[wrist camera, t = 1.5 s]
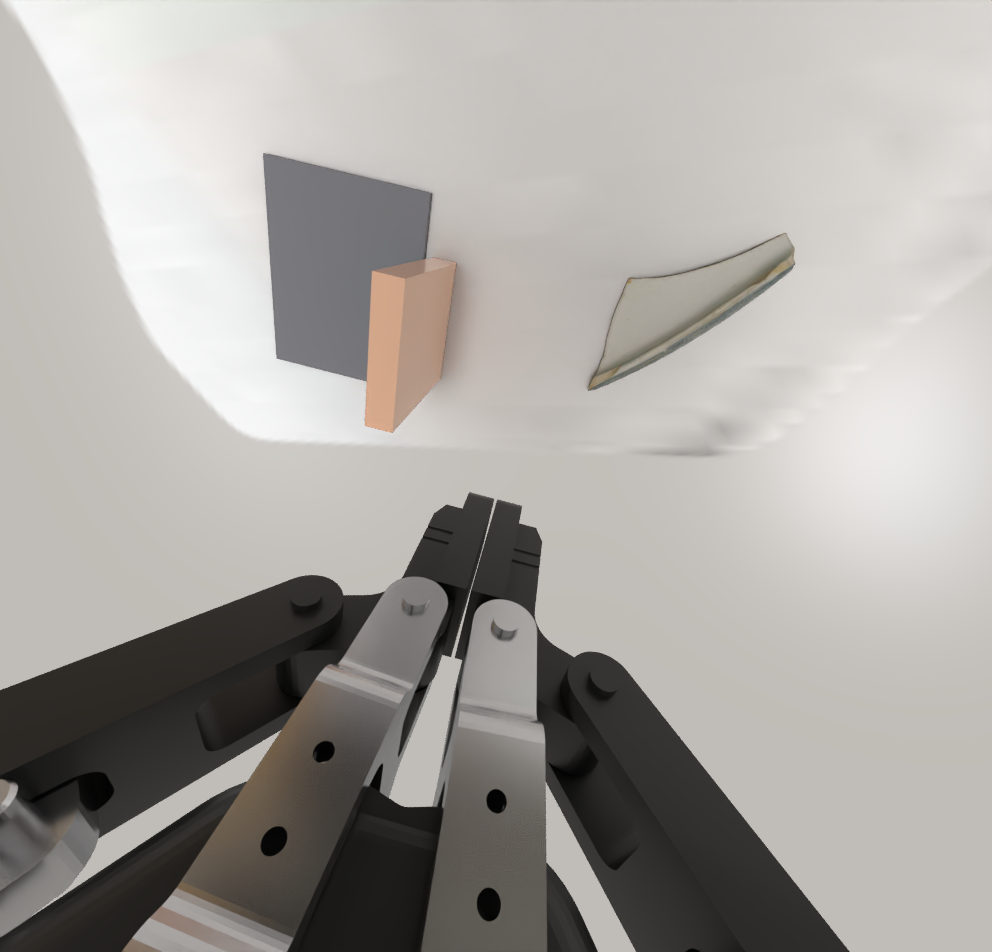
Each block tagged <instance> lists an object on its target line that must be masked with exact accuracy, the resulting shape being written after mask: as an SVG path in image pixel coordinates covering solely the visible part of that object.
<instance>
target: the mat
mask: <svg viewBox="0 0 992 952" xmlns="http://www.w3.org/2000/svg"><path fill="white" fill-rule="evenodd" d="M263 159H264V174H265V190H266V205H267V220H268V235H269V250H270V265H271V280H272V295H273V310H274V325H275V340H276V355H277V359H281V360H285V361H289V362H293V363H297V364H301V365H305V366H309V367H312V368H316V369H320V370H324V371H328V372H332V373H336V374H340V375H344V376H348V377H352V378H356V379H360V380H363V381H367V367H368V345H369V324H370V302H371V280H372V271H373V270H377V269H382V268H386V267H391V266H396V265H400V264H405V263H409V262H414V261H419V260H423V259H425V257H426V247H427V237H428V228H429V218H430V209H431V199H432V193H429V192H425V191H420V190H416V189H412V188H408V187H404V186H399V185H395V184H391V183H387V182H383V181H378V180H374V179H370V178H366V177H362V176H357V175H353V174H349V173H345V172H341V171H336V170H332V169H328V168H324V167H320V166H315V165H311V164H307V163H303V162H299V161H294V160H290V159H286V158H282V157H278V156H274V155H269V154H265V153H263Z"/></svg>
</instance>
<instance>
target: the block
mask: <svg viewBox="0 0 992 952" xmlns="http://www.w3.org/2000/svg"><path fill="white" fill-rule="evenodd" d="M456 264H457V263H454V262H450V261H446V260H442V259H438V258H434V257H432V258H428V259H423V260H419V261H414V262H409V263H405V264H400V265H396V266H391V267H386V268H382V269H377V270H373V271H372V280H371V302H370V324H369V345H368V367H367V389H366V410H365V426H368V427H372V428H375V429H379V430H383V431H387V432H391V433H393V432H394V430H395V429H396V428H397V427H398V426H399V425H400V424H401V423H402V421H403V420H404V419H405V418H406V417H407V416H408V415H409V414H410V412H411V411H412V410H413V409H414V408H415V407H416V406H417V405H418V403H419V402H420V401H421V400H422V399H423V398H424V397H425V396H426V394H427V393H428V392H429V391H430V390H431V389H432V388H433V387H434V385H435V384H436V383H437V382H438V381H439V380H440V379H441V372H442V364H443V357H444V350H445V343H446V336H447V328H448V321H449V314H450V307H451V300H452V292H453V285H454V278H455V271H456Z"/></svg>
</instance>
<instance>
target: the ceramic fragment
mask: <svg viewBox="0 0 992 952" xmlns="http://www.w3.org/2000/svg"><path fill="white" fill-rule="evenodd" d="M793 256H794V246H793V245H792V243H791V242H790V240H789V238H788V236H787V233H784V234H782V235H779V236H777V237H775V238H773V239H771V240H769V241H767V242H765V243H763V244H761V245H759V246H757V247H755V248H753V249H751V250H749V251H747V252H745V253H743V254H740V255H738V256H735V257H733V258H730V259H727V260H725V261H722V262H719V263H716V264H712V265H709V266H705V267H702V268H699V269H695V270H691V271H688V272H685V273H681V274H676V275H670V276H664V277H656V278H640V279H635V278H629V279H628V281H627V284H626V286H625V288H624V291H623V294H622V296H621V299H620V301H619V303H618V306H617V308H616V311H615V313H614V316H613V319H612V323H611V325H610V329H609V334H608V337H607V341H606V348H605V352H604V356H603V358H602V360H601V363H600V366H599V369H598V372H597V373H596V375H595V376H594V377H593V379H592V381H591V383H590V386H589V388H588V391H589V390H596V389H598V388H600V387H603V386H605V385H608V384H610V383H612V382H614V381H616V380H619V379H621V378H623V377H625V376H627V375H629V374H631V373H633V372H636V371H638V370H640V369H642V368H644V367H646V366H648V365H650V364H652V363H654V362H656V361H657V360H659V359H661V358H663V357H665V356H667V355H668V354H670V353H672V352H674V351H675V350H677V349H679V348H681V347H682V346H684V345H686V344H687V343H689V342H691V341H692V340H694V339H695V338H697V337H699V336H700V335H702V334H704V333H705V332H707V331H708V330H710V329H711V328H713V327H715V326H716V325H718V324H719V323H721V322H722V321H724V320H725V319H727V318H728V317H730V316H731V315H732V314H734V313H735V312H737V311H738V310H740V309H741V308H742V307H744V306H745V305H747V304H748V303H749V302H751V301H752V300H754V299H755V298H756V297H758V296H759V295H760V294H762V293H763V292H764V291H766V290H767V289H768V288H770V287H771V286H772V285H773V284H775V283H776V282H777V281H779V280H780V279H781V278H782V277H784V276H785V275H786V274H787V273H789V272H790V271H791V270H792V269H793V266H794V265H795V262H794V258H793Z"/></svg>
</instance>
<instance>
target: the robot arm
mask: <svg viewBox="0 0 992 952" xmlns="http://www.w3.org/2000/svg"><path fill="white" fill-rule="evenodd" d="M493 502H494V499H493V498H489V497H485V496H481V495H477V494H474V493H469V494H468V497H467V499H466V502H465V504H464V507H463V509H461V508H457V507H453V506H449V505H445V506H444V507H443V508H441V509H440V510H438V511H437V512H436V513H434V515H433V517H432V519H431V521H430V523H429V525H428V528H427V529H426V531H425V533H424V535H423V538H422V539H421V541H420V543H419V545H418V547H417V549H416V551H415V553H414V555H413V557H412V560H411V561H410V563H409V565H408V567H407V570H406V572H405V574H404V576H403V577H402V579H400V580H397V581H395V582H394V583H392V584H391V585H390V586H389V587H388V588H387V589H386V591H385V592H382V593H379V594H374V595H348V596H347V595H346V596H344V595H343V593H342V590H341V588H340V587H339V586H338V584H337V583H335V582H334V581H333V580H331V579H329V578H326V577H323V576H316V575H309V576H301V577H297V578H294V579H291V580H288V581H286V582H283V583H281V584H278V585H275V586H273V587H270V588H268V589H265V590H262V591H260V592H257V593H255V594H252V595H249V596H247V597H244V598H241V599H239V600H236V601H233V602H231V603H228V604H226V605H223V606H220V607H218V608H215V609H212V610H210V611H207V612H205V613H202V614H199V615H197V616H194V617H191V618H189V619H186V620H184V621H181V622H178V623H176V624H173V625H171V626H168V627H165V628H163V629H160V630H157V631H155V632H152V633H149V634H147V635H144V636H142V637H139V638H136V639H134V640H131V641H128V642H126V643H123V644H121V645H118V646H116V647H113V648H110V649H107V650H105V651H102V652H100V653H97V654H94V655H92V656H89V657H86V658H84V659H81V660H79V661H76V662H73V663H71V664H68V665H65V666H63V667H60V668H58V669H55V670H52V671H50V672H47V673H45V674H42V675H39V676H37V677H34V678H32V679H29V680H26V681H23V682H21V683H19V684H16V685H13V686H10V687H8V688H5V689H2V690H0V952H598V951H597V949H596V947H595V944H594V942H593V940H592V938H591V936H590V933H589V931H588V929H587V927H586V925H585V922H584V920H583V918H582V916H581V914H580V912H579V910H578V908H577V906H576V904H575V902H574V901H573V899H572V897H571V895H570V893H569V892H568V890H567V888H566V887H565V885H564V884H563V882H562V881H561V880H560V878H559V877H558V876H557V874H556V873H555V872H554V870H553V869H552V868H551V867H550V866H549V865H548V864H547V863H546V783H547V785H548V786H549V788H550V790H551V792H552V794H553V796H554V798H555V800H556V801H557V803H558V805H559V807H560V809H561V811H562V813H563V814H564V816H565V818H566V820H567V822H568V824H569V826H570V828H571V830H572V831H573V833H574V835H575V837H576V839H577V841H578V843H579V845H580V847H581V848H582V850H583V852H584V854H585V856H586V858H587V860H588V862H589V864H590V865H591V867H592V869H593V871H594V873H595V875H596V877H597V879H598V881H599V882H600V884H601V886H602V888H603V890H604V892H605V894H606V895H607V898H608V899H609V901H610V903H611V905H612V907H613V909H614V911H615V913H616V915H617V916H618V918H619V920H620V922H621V924H622V926H623V928H624V929H625V931H626V933H627V935H628V937H629V939H630V941H631V943H632V944H633V947H634V948H635V950H636V952H849V950H848V949H847V948H846V947H845V946H844V944H843V943H842V942H841V940H840V939H839V938H838V937H837V935H836V934H835V933H834V932H833V930H832V929H831V928H830V926H829V925H828V924H827V923H826V922H825V920H824V919H823V918H822V916H821V915H820V914H819V913H818V911H817V910H816V909H815V908H814V906H813V905H812V904H811V903H810V901H809V900H808V899H807V897H806V896H805V895H804V894H803V892H802V891H801V890H800V889H799V887H798V886H797V885H796V884H795V882H794V881H793V880H792V879H791V877H790V876H789V875H788V874H787V872H786V871H785V870H784V868H783V867H782V866H781V865H780V863H779V862H778V861H777V860H776V858H775V857H774V856H773V855H772V853H771V852H770V851H769V850H768V848H767V847H766V846H765V844H764V843H763V842H762V841H761V839H760V838H759V837H758V836H757V834H756V833H755V832H754V831H753V829H752V828H751V827H750V826H749V824H748V823H747V822H746V821H745V819H744V818H743V817H742V816H741V814H740V813H739V812H738V810H737V809H736V808H735V807H734V806H733V804H732V803H731V802H730V800H729V799H728V798H727V797H726V795H725V794H724V793H723V792H722V790H721V789H720V788H719V787H718V785H717V784H716V783H715V782H714V780H713V779H712V778H711V776H710V775H709V774H708V773H707V771H706V770H705V769H704V768H703V766H702V765H701V764H700V763H699V761H698V760H697V759H696V758H695V756H694V755H693V754H692V752H691V751H690V750H689V749H688V747H687V746H686V745H685V744H684V742H683V741H682V740H681V739H680V737H679V736H678V735H677V734H676V732H675V731H674V730H673V729H672V727H671V726H670V725H669V723H668V722H667V721H666V720H665V719H664V717H663V716H662V715H661V713H660V712H659V711H658V710H657V708H656V707H655V706H654V705H653V703H652V702H651V701H650V699H649V698H648V697H647V696H646V694H645V693H644V692H643V691H642V689H641V688H640V687H639V686H638V684H637V683H636V682H635V681H634V679H633V678H632V677H631V676H630V674H629V673H628V672H627V671H626V669H625V668H624V667H623V666H622V665H621V664H620V663H618V662H617V661H616V660H614V659H613V658H611V657H609V656H607V655H604V654H602V653H598V652H584V653H581V654H579V655H577V656H576V657H575V658H574V657H573V656H571V655H569V654H568V653H566V652H564V651H562V650H561V649H559V648H557V647H556V646H554V645H553V644H552V643H550V642H549V641H548V640H547V639H546V638H545V637H544V636H543V634H542V633H541V631H540V630H539V628H538V626H537V624H536V621H535V616H534V615H535V602H536V594H537V584H538V574H539V565H540V556H541V546H542V541H541V539H540V536H539V534H538V532H537V529H536V528H534V527H530V526H526V525H522V524H519V520H520V514H521V509H522V506H520V505H516V504H513V503H509V502H505V501H501V500H497V503H496V506H495V510H494V513H493V517H492V520H491V523H490V527H489V531H488V534H487V537H486V541H485V544H484V548H483V551H482V547H483V543H484V539H485V535H486V531H487V527H488V523H489V518H490V514H491V510H492V506H493ZM481 551H482V555H481V558H480V554H481ZM479 558H480V562H479V565H478V561H479ZM477 565H478V569H477ZM476 569H477V572H476ZM475 572H476V576H475V579H474V575H475ZM473 579H474V583H473V586H472V582H473ZM471 586H472V590H471V594H470V598H469V602H468V606H467V610H466V614H465V618H464V622H463V627H462V631H461V635H460V639H459V643H458V647H457V651H456V656H455V658H457V659H461V660H462V664H461V668H460V672H459V675H458V680H457V684H456V688H455V691H454V697H453V702H452V707H451V713H450V718H449V724H448V729H447V735H446V740H445V746H444V752H443V757H442V763H441V768H440V773H439V779H438V783H437V788H436V792H435V797H434V802H433V806H432V807H403V806H400V805H399V804H397V803H395V802H394V801H392V800H391V799H389V795H390V792H391V789H392V786H393V783H394V779H395V776H396V773H397V770H398V767H399V764H400V762H401V759H402V757H403V754H404V751H405V749H406V747H407V744H408V742H409V739H410V737H411V734H412V732H413V729H414V727H415V724H416V722H417V719H418V717H419V714H420V711H421V709H422V707H423V704H424V702H425V699H426V697H427V694H428V692H429V689H430V687H431V683H432V680H433V678H434V677H435V675H436V672H437V669H438V666H439V663H440V660H441V657H442V655H445V656H449V657H451V655H452V651H453V648H454V644H455V641H456V637H457V634H458V630H459V627H460V624H461V620H462V616H463V613H464V610H465V606H466V603H467V599H468V596H469V593H470V589H471ZM280 730H281V732H280V733H279V735H278V736H277V738H276V739H275V741H274V742H273V744H272V745H271V747H270V749H269V750H268V752H267V753H266V754H265V756H264V757H263V759H262V761H261V762H260V763H259V765H258V766H257V768H256V769H255V771H254V772H253V774H252V775H251V777H250V778H249V780H248V781H247V782H244V783H242V784H239V785H237V786H234V787H232V788H229V789H227V790H225V791H224V792H222V793H220V794H218V795H216V796H214V797H212V798H210V799H209V800H207V801H206V802H204V803H202V804H201V805H199V806H198V807H196V808H195V809H193V810H192V811H190V812H189V813H187V814H186V815H184V816H183V817H181V818H180V819H178V820H177V821H175V822H174V823H172V824H171V825H169V826H168V827H166V828H165V829H163V830H162V831H160V832H159V833H157V834H156V835H154V836H153V837H151V838H150V839H148V840H147V841H145V842H144V843H142V844H141V845H139V846H138V847H136V848H135V849H133V850H132V851H130V852H128V853H127V854H125V855H124V856H122V857H121V858H119V859H118V860H116V861H115V862H113V863H112V864H111V865H109V866H107V867H106V868H104V869H103V870H101V871H100V872H98V873H97V874H96V875H94V876H92V877H91V878H89V879H88V880H86V881H85V882H83V883H82V884H80V885H79V886H77V887H76V888H74V889H73V890H71V891H70V892H68V893H67V894H65V895H64V896H63V897H61V898H59V899H58V900H56V901H55V902H53V903H52V904H50V905H49V906H47V907H46V908H44V909H42V910H41V911H39V912H38V913H36V912H37V911H38V910H40V909H41V908H42V907H44V906H45V905H46V904H48V903H49V902H50V901H52V900H53V899H54V898H56V897H58V896H59V895H60V894H62V893H63V892H64V891H65V890H66V889H67V888H68V887H69V886H70V885H71V884H72V883H73V881H74V880H75V878H76V877H77V876H78V875H79V873H80V872H81V871H82V870H83V868H84V867H85V865H86V864H87V862H88V860H89V859H90V857H91V855H92V853H93V851H94V849H95V846H96V844H97V840H98V838H100V837H102V836H103V835H105V834H106V833H108V832H110V831H111V830H113V829H115V828H117V827H118V826H120V825H122V824H123V823H125V822H127V821H128V820H130V819H132V818H133V817H135V816H137V815H138V814H140V813H142V812H144V811H145V810H147V809H149V808H150V807H152V806H154V805H155V804H157V803H159V802H160V801H162V800H164V799H166V798H167V797H169V796H170V795H172V794H174V793H176V792H177V791H179V790H181V789H182V788H184V787H186V786H187V785H189V784H191V783H193V782H194V781H196V780H198V779H199V778H201V777H202V776H204V775H206V774H208V773H209V772H211V771H213V770H214V769H216V768H218V767H219V766H221V765H223V764H225V763H226V762H228V761H229V760H231V759H233V758H235V757H236V756H238V755H240V754H241V753H243V752H245V751H246V750H248V749H250V748H251V747H253V746H255V745H256V744H258V743H260V742H262V741H263V740H265V739H267V738H268V737H270V736H272V735H273V734H275V733H277V732H278V731H280ZM545 782H546V783H545ZM34 913H36V914H35V915H33V914H34ZM32 915H33V916H32ZM31 916H32V917H31Z"/></svg>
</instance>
